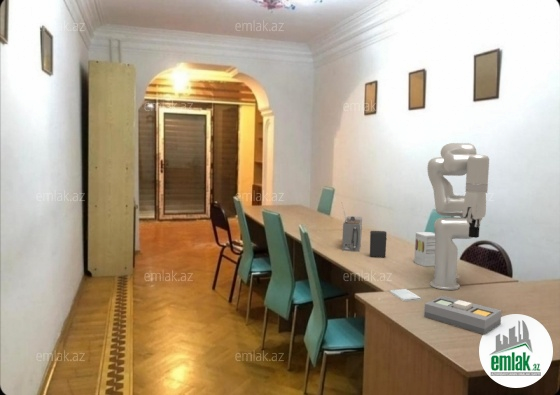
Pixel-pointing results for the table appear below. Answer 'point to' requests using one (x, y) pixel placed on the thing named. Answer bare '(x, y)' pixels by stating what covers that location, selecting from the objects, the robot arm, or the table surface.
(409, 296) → the hard drive
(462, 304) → the middle key
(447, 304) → the sage key
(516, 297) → the table surface
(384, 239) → the card reader
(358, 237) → the portable television
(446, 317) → the key console
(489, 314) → the amber key
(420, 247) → the supplement box
